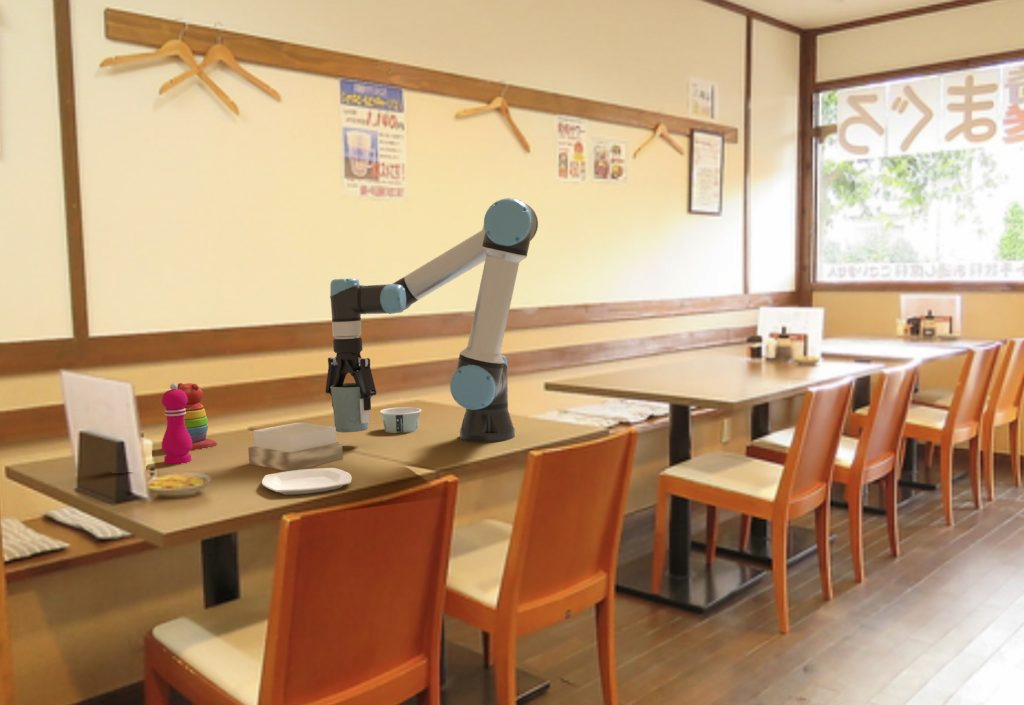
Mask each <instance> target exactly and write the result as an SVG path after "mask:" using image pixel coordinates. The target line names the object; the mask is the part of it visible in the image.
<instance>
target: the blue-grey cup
mask: <svg viewBox="0 0 1024 705" xmlns="http://www.w3.org/2000/svg"><path fill="white" fill-rule="evenodd" d="M330 388H331V393H332V396H331V402H332V401H333V407H332V410H333V420H334V427H336V433H337V432H338V433H359V432H362V431H363V432H364V431H367V430H368V428H369V422H368V423H361V416H360V397H361V394H360V387H357V385H356V382H346V383H345V382H344V383H343V386H342V387H335V385H331V387H330ZM365 393H366V392H365ZM332 399H333V400H332ZM334 418H335V419H334Z"/></svg>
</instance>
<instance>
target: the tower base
mask: <svg viewBox="0 0 1024 705" xmlns="http://www.w3.org/2000/svg"><path fill="white" fill-rule="evenodd" d="M247 450H248V464H249V465H253V466H260V467H264V468H269V469H270V468H271V469H274V470H281V471H284V472H286V471H293V470H302V469H308V468H311V467H315V466H318V465H319V466H320V465H324V464H327V463H332V462H334V461H335V462H338V460H339V461H342V459H344V457H343V454H344V453H343V452H344V451H343V442H340V441H336V443H334V444H329V445H325V446H320V447H315V448H311V449H306V450H301V451H297V452H292V453H289V452H283V451H277V450H271V449H265V448H259V447H254V445H251V446H248V449H247Z"/></svg>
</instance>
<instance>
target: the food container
mask: <svg viewBox="0 0 1024 705" xmlns="http://www.w3.org/2000/svg"><path fill="white" fill-rule="evenodd" d="M421 412H422V409H421V408H417V407H407V406H406V407H403V406H402V407H391V408H384V409H381V410H380V411H379V414H381V417H382V424H383V428H384V432H386V433H389V434H404V433H411V432H416V431H418V430H419V424H420V423H419V421H420V413H421Z"/></svg>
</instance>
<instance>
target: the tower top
mask: <svg viewBox="0 0 1024 705" xmlns="http://www.w3.org/2000/svg"><path fill="white" fill-rule="evenodd" d="M252 431H253V446H254V447H259V448H265V449H271V450H277V451H283V452H289V453H292V452H297V451H301V450H306V449H311V448H315V447H320V446H325V445H329V444H334V443H336V442H337V431H336V427H335V426H330V425H323V424H315V423H310V422H309V423H307V422H299V421H297V422H293V423H287V424H282V425H275V426H271V427H265V428H260V429H259V428H258V429H254V430H252Z"/></svg>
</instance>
